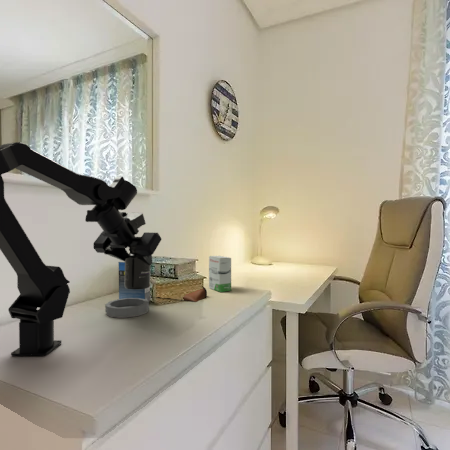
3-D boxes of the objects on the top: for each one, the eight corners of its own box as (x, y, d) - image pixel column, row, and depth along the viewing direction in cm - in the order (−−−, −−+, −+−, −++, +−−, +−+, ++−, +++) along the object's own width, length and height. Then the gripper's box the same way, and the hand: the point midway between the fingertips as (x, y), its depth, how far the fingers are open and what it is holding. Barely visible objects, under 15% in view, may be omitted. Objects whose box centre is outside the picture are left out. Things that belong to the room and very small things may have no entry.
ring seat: (142, 317, 85) (142, 308, 85) (99, 317, 85) (99, 308, 84) (152, 306, 96) (152, 297, 96) (113, 306, 96) (113, 298, 96)
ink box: (232, 291, 116) (232, 257, 116) (219, 292, 113) (219, 258, 113) (219, 286, 123) (220, 254, 123) (208, 287, 121) (208, 255, 121)
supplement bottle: (147, 290, 87) (147, 244, 87) (121, 289, 87) (121, 244, 87) (152, 285, 94) (152, 243, 94) (128, 285, 94) (128, 243, 94)
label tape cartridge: (150, 300, 102) (150, 261, 102) (144, 304, 98) (144, 262, 98) (125, 299, 104) (124, 260, 104) (118, 302, 100) (117, 261, 100)
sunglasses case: (145, 297, 106) (150, 278, 109) (154, 304, 111) (159, 285, 115) (197, 302, 100) (201, 281, 103) (204, 308, 106) (208, 289, 109)
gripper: (157, 200, 83) (180, 242, 93) (102, 202, 91) (128, 240, 101) (136, 232, 76) (164, 274, 86) (78, 230, 84) (109, 269, 94)
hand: (140, 262), depth 92 cm, fingers closed on supplement bottle, 7 cm apart
